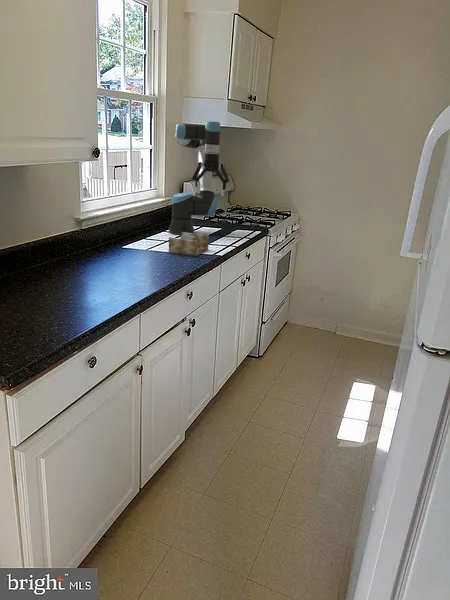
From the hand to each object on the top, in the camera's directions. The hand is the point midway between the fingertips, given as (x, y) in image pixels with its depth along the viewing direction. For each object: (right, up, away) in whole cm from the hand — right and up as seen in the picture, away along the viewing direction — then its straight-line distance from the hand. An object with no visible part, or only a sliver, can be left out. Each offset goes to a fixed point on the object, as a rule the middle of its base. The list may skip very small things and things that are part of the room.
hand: (210, 194), depth 258 cm
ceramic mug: (-10, -30, -7) cm, 32 cm away
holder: (-11, -31, -8) cm, 33 cm away
